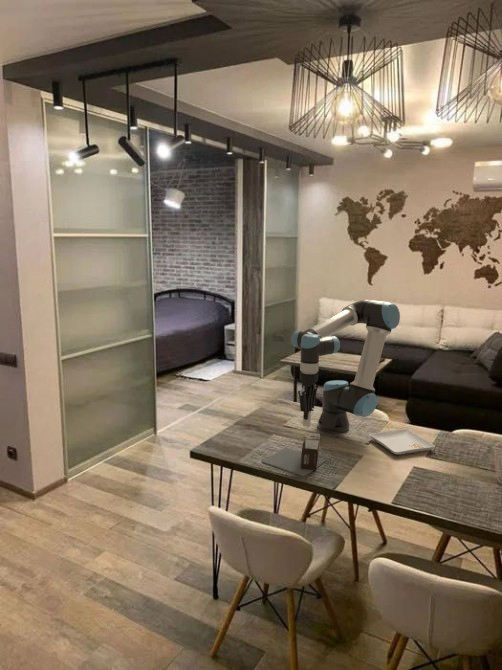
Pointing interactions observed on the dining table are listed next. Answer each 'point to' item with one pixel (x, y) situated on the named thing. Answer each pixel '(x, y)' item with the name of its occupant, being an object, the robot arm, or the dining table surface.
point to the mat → (290, 461)
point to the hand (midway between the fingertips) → (306, 425)
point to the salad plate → (401, 441)
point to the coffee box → (310, 451)
